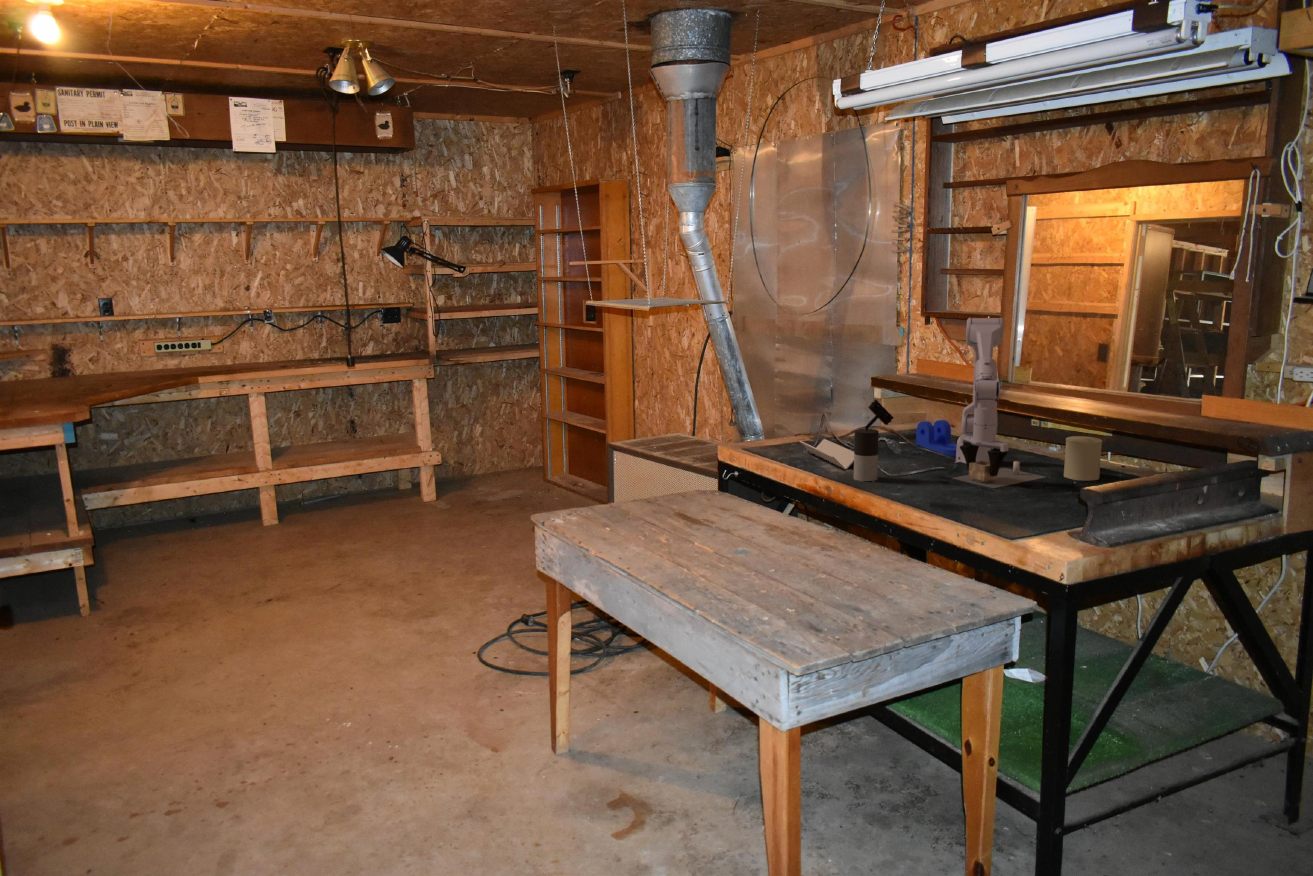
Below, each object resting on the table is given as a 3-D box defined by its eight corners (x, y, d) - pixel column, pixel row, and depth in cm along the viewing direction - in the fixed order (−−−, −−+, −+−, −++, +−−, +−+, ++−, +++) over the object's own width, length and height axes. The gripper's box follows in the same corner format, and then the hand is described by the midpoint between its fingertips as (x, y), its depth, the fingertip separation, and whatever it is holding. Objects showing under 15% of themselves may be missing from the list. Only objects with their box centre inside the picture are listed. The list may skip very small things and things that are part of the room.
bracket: (915, 446, 303) (916, 420, 302) (937, 445, 306) (938, 418, 304) (949, 457, 287) (950, 429, 285) (971, 455, 289) (973, 427, 287)
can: (1078, 485, 249) (1081, 441, 247) (1055, 477, 258) (1058, 435, 256) (1107, 482, 252) (1110, 439, 249) (1083, 475, 260) (1086, 433, 258)
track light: (869, 492, 258) (918, 440, 258) (829, 453, 254) (879, 400, 253) (860, 487, 264) (908, 436, 264) (821, 448, 260) (870, 396, 260)
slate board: (951, 481, 256) (952, 464, 255) (1004, 471, 267) (1005, 454, 266) (992, 491, 244) (993, 474, 243) (1046, 480, 255) (1047, 463, 254)
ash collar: (968, 477, 253) (969, 463, 252) (981, 474, 255) (982, 460, 254) (983, 481, 248) (984, 466, 247) (996, 478, 251) (997, 464, 250)
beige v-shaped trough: (823, 465, 298) (836, 451, 298) (858, 483, 274) (872, 467, 274) (799, 441, 294) (812, 426, 295) (832, 457, 271) (846, 441, 271)
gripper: (953, 421, 253) (951, 470, 255) (996, 429, 240) (994, 480, 243) (971, 419, 256) (968, 466, 259) (1014, 426, 244) (1012, 476, 247)
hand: (982, 473), depth 251 cm, fingers open, 7 cm apart
